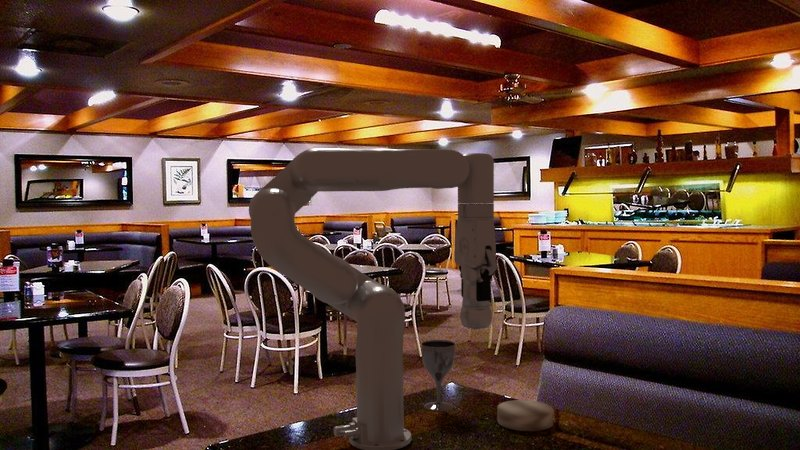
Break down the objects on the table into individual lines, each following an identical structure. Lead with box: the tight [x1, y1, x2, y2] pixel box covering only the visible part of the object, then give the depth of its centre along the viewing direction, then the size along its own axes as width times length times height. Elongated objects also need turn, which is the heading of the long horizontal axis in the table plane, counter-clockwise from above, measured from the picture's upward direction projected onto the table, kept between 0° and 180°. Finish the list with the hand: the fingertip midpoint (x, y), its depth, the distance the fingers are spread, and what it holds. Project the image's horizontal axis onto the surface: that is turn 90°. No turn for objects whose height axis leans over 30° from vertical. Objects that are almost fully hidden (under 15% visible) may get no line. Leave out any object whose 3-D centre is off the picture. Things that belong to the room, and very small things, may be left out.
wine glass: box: [421, 339, 456, 412], centre depth 158 cm, size 8×8×15 cm
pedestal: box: [496, 399, 554, 432], centre depth 146 cm, size 12×12×3 cm
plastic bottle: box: [459, 254, 493, 330], centre depth 140 cm, size 6×7×20 cm
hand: (475, 298), depth 141 cm, fingers closed on plastic bottle, 5 cm apart
